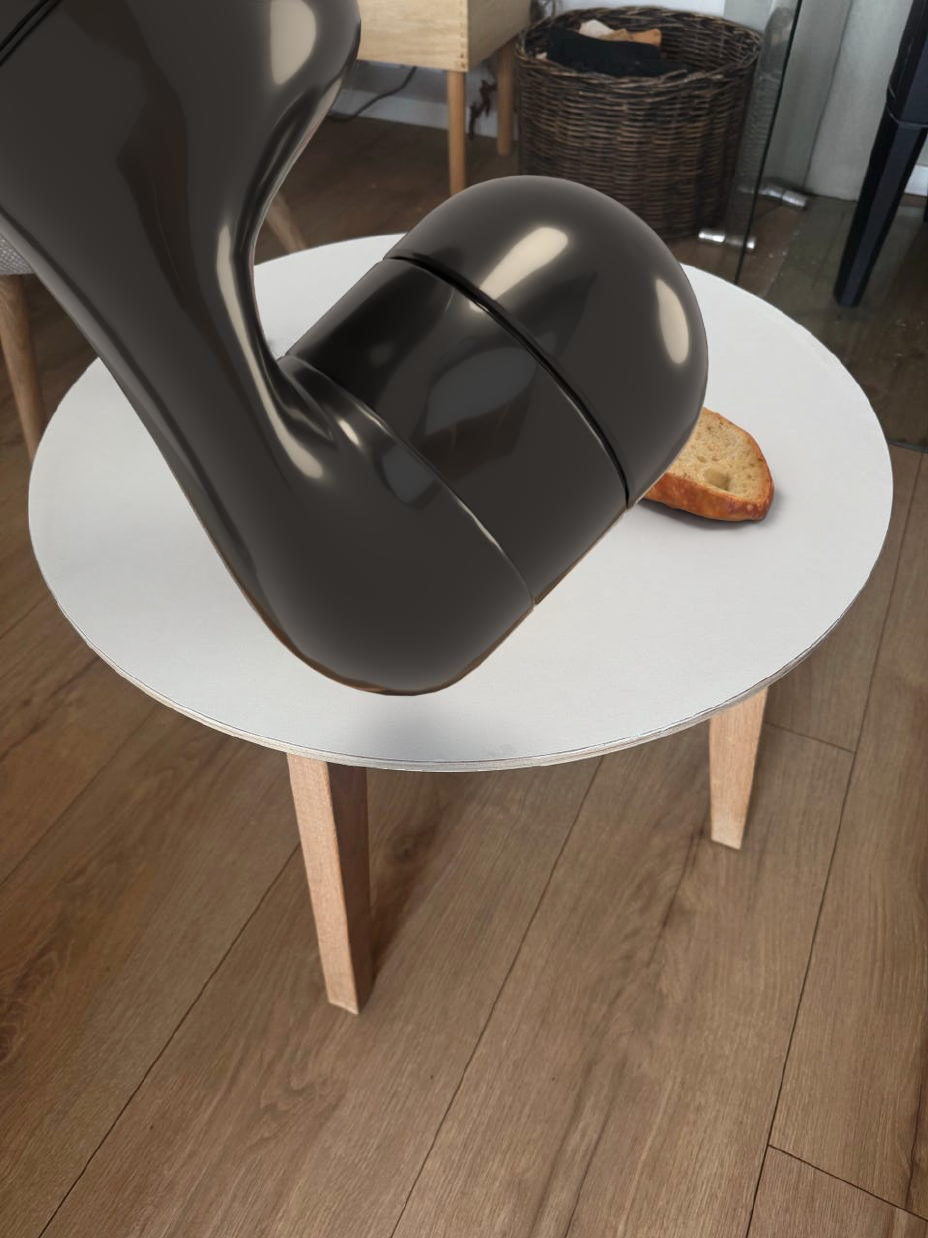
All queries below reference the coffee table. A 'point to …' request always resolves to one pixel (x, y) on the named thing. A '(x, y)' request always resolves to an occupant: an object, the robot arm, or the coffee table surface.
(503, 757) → the coffee table surface
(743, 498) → the slice of bread
